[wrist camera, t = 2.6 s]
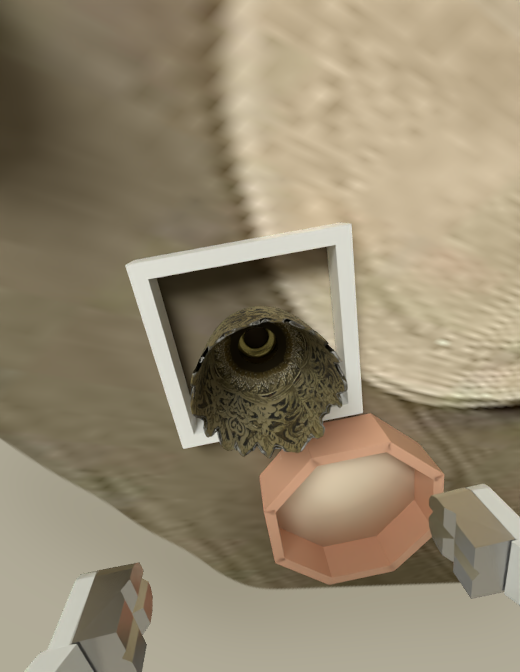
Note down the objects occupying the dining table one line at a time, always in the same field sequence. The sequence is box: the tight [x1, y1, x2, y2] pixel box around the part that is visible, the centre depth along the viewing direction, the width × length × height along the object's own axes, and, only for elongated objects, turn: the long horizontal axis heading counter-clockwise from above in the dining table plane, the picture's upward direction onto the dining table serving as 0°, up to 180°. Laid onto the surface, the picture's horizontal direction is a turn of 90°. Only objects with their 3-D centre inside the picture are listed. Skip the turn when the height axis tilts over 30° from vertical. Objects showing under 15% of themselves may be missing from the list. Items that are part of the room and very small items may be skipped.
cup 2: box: [190, 306, 348, 458], centre depth 19 cm, size 8×7×8 cm
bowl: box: [260, 413, 444, 585], centre depth 27 cm, size 14×14×4 cm
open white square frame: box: [125, 223, 363, 449], centre depth 22 cm, size 13×13×2 cm
